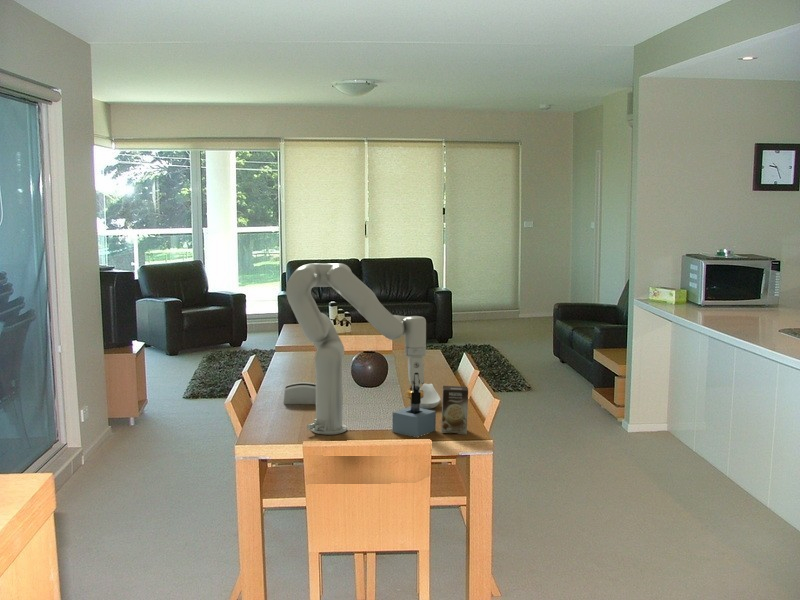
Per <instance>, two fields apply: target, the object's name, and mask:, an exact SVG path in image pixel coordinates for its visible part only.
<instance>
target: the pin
mask: <svg viewBox="0 0 800 600" xmlns="http://www.w3.org/2000/svg"><path fill="white" fill-rule="evenodd" d="M411 392H412V390H410V389H408V390H406V398H408V399H410V400H411ZM420 392H421V398H423V397H424V391H423V390H420ZM410 406H411V413H412V414H418V413H420V404H412V403H411V402H410Z"/></svg>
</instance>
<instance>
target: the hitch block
mask: <svg viewBox="0 0 800 600" xmlns="http://www.w3.org/2000/svg"><path fill="white" fill-rule="evenodd" d="M436 411H437V410H432V409H423V408H420V413H418V414H412V413H411V405H409V406H407V407H404V408H401V409H399V410H396V411H393V412H392V429H391V430H392V433H394V434H395V433H396V434H399V435H403V436H407V435H410V436H409V437H411V436H415V437H414V438H416V437H418V436H421V435H424V434H426V435H428V434H427V433H429V434H431V433H433V432H432V431H434V432H436V427H437V426H436V423H437V421H436V418H437V414H436V413H437V412H436ZM430 432H431V433H430ZM424 436H425V435H424ZM421 437H422V436H421Z"/></svg>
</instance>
